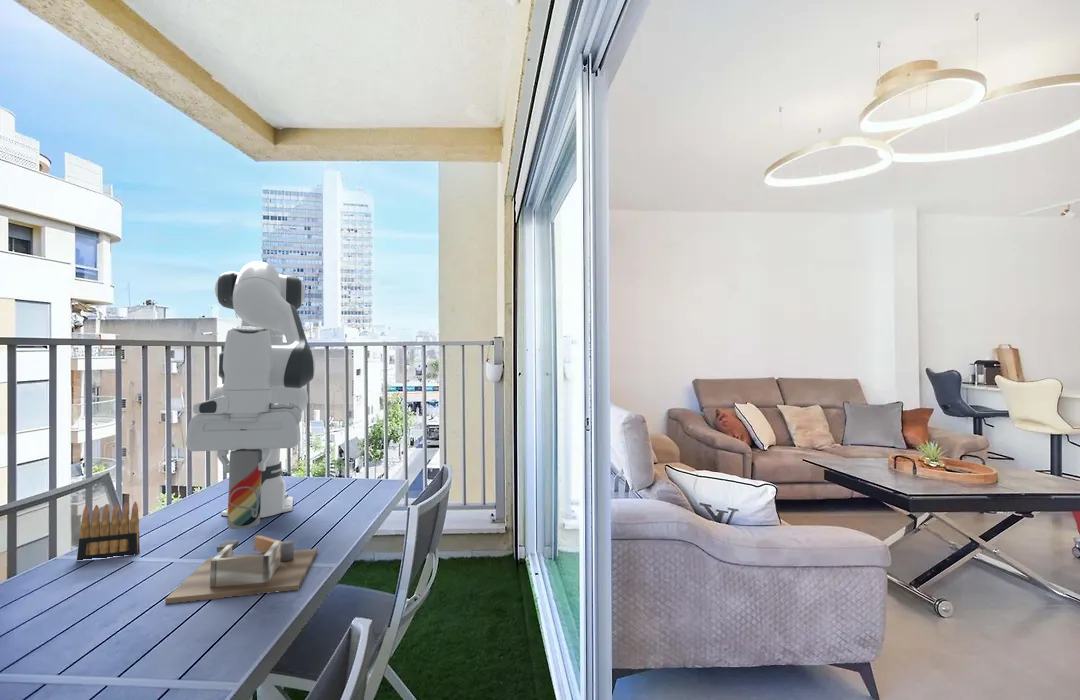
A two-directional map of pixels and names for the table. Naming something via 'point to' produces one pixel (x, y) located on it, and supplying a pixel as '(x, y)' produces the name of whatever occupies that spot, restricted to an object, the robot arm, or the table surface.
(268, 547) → the arm
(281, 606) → the table surface
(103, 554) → the ammunition clip
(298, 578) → the cradle
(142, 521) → the table surface
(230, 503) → the lotion bottle
